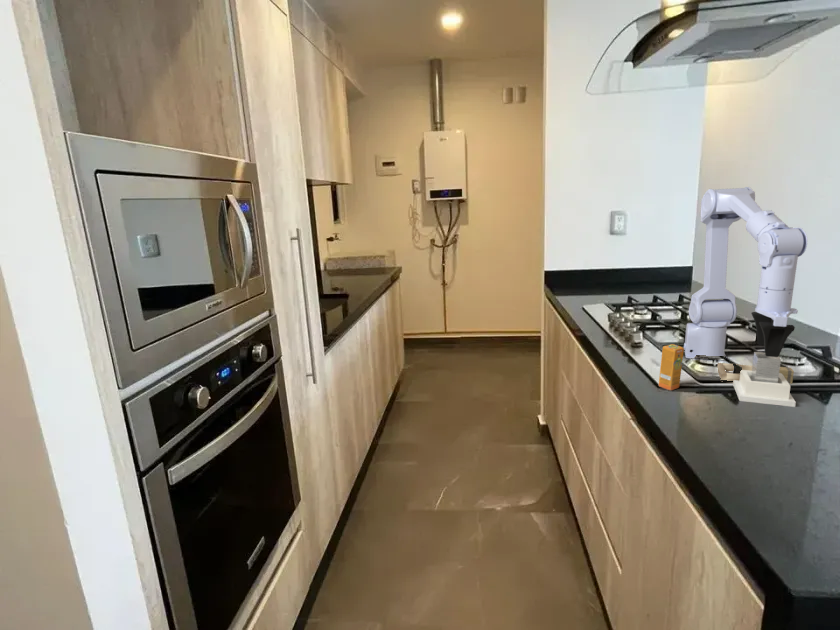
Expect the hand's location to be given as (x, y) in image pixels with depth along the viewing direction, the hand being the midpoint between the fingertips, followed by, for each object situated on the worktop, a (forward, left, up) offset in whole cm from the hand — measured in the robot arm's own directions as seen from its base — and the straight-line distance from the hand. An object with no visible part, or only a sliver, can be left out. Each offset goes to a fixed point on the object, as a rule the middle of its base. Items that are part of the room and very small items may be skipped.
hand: (767, 350), depth 102 cm
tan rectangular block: (+5, +10, -10) cm, 15 cm away
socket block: (-3, +10, -10) cm, 15 cm away
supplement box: (-18, -1, -11) cm, 21 cm away
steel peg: (0, 0, -9) cm, 9 cm away
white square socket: (0, 0, -10) cm, 10 cm away
